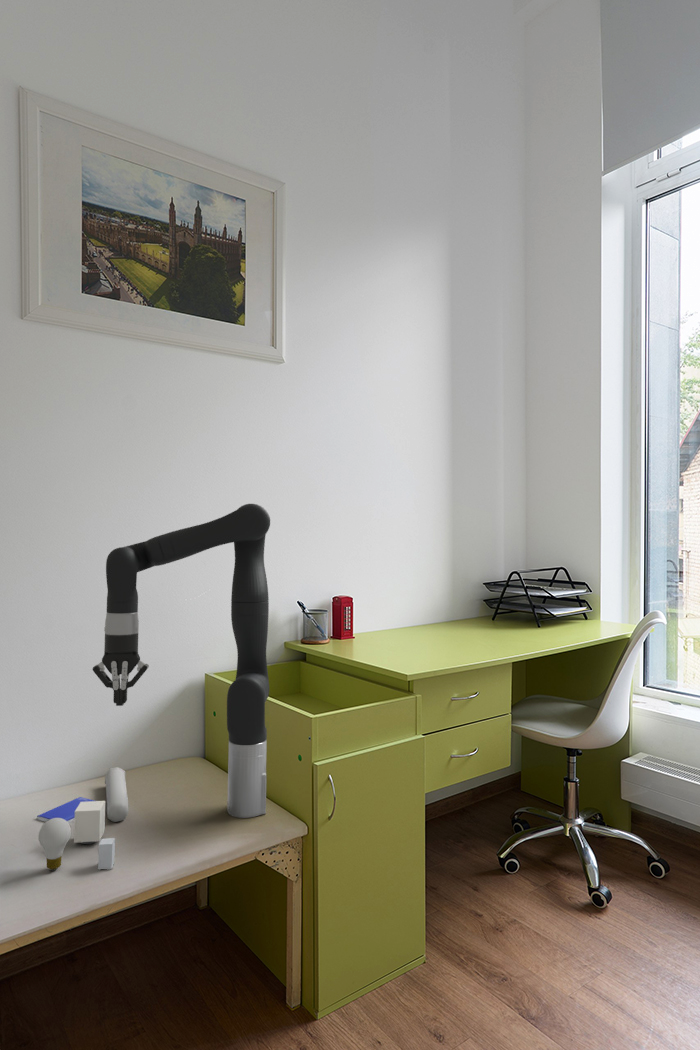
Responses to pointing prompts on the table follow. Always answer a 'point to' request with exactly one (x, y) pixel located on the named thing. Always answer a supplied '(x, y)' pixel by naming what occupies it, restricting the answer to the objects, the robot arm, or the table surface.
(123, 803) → the tube
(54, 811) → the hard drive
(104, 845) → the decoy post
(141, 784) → the table surface
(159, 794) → the table surface
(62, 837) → the light bulb
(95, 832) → the off-white rectangular block
